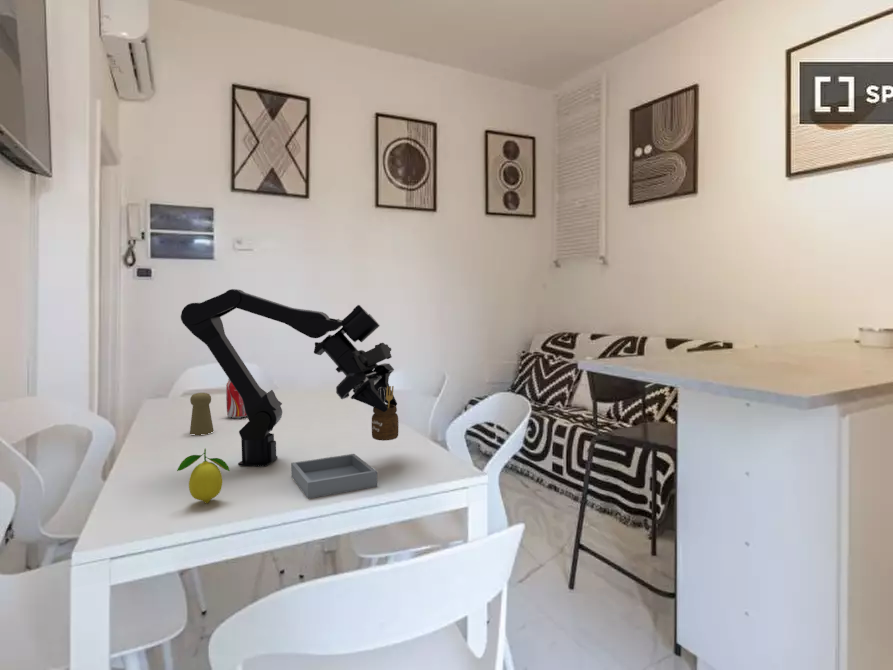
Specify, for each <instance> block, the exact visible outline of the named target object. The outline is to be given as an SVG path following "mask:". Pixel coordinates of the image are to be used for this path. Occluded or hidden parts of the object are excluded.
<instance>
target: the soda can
mask: <svg viewBox="0 0 893 670" xmlns="http://www.w3.org/2000/svg"><path fill="white" fill-rule="evenodd" d="M225 385H226V387H225V388H226V389H225V394H226V397H225V398H226V402H225V405H226V414H227V416H228V417H229V418H231V417H232V418H231V419H234V418H238V419H242V418H241V417H245V418H247V417H246V416H247V415H246V412H245V408H244V404H243V400H242V398H241V396H240V394H239V393H238V391H237V390H236V388H235V387H234V385H233V384H232V382H231V381H230V379H229V378H228V379H227V383H226V384H225Z"/></svg>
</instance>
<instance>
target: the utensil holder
mask: <svg viewBox="0 0 893 670" xmlns="http://www.w3.org/2000/svg"><path fill="white" fill-rule="evenodd" d="M389 386H390V387H389V395H388V386H387V391H386V400H388V404H387V403H385V404H386V406H387V407H388V410H387V411H386V412H383V411H381V410H379V409H377V408H374V407H372V408H373V409H372V412H373V414H372V416H371V437H372V439H374V440H377V441H382V442H383V441H393V440H396V439H397V438H398V437H399V416H398V414H397V412H398V408H397V405H396V406H395V405H391V404H390V400H392V399H393V395H394V388H395V387H394V385H392V386H391V385H389ZM380 388H382V387H380ZM384 388H385V387H384ZM384 388H383V389H384ZM385 389H386V388H385ZM378 390H379V389H378ZM380 390H381V389H380ZM391 391H392V393H391ZM390 393H391V395H390ZM380 396H381V393H380ZM384 396H385V392H384Z"/></svg>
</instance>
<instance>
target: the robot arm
mask: <svg viewBox="0 0 893 670" xmlns="http://www.w3.org/2000/svg"><path fill="white" fill-rule="evenodd" d="M236 309H239V310H242V311H245V312H248V313H251V314H255V315H256V316H261V317H264V318H267V319H271V320H273V321H277V322H279V323H283V324H285V325H287V326H289V327H291V328H292V329H294V330H295V331H297V332H299V333H301V334H303V335H305V336H306V337H309V338H311V339H318V338H319V339H320V338H322V337H324V336H326V335H327V334H328V333H329V332H335V331H336V332H335V333H334V334H328V335H327V336H326V337H324V339H323V340H322V341H319V342H317V341H316V342H314V350H313V354H315V355H319V356H322V354H324V353H326V355H327V356H328V357H329V358H330V360H331V361H333V363H334V364H335V365H336V366H337V367H336V368H335V371H337V373H341V372H342V373H343V375H345V377H344V378H343V379H342V380H341V381H340V382H339V383H338V384H337V386H336V388H335V390H336V391H335V393H336V395H337V396H338V397H339V399H341V400H345V399H348V398H349V397H350V399H351V400H356V401H358V402H360V403H363V404H366V405H368V406H370V407H372V408H373V407H374V408H377V409H379V410H381V411H383V412H386V411H387V410H388V407H387V406H386V404H388V400H386V391H387V386H388V395H389V387H390V386H391V385H390V384H389V380H390V379H389V378H390V376H391V374H392V373H393V372H394V370H395V369H394V367H393V366H392V365H391V364H390V363H381V362H383V361H385V360H389V359H391V358H392V357H393V356H392V354H391V352H392V347H390V346H389V344H385V343H384V342H379V344H375V345H374V347H373V348H371V349H369V350H367V351H365V350H363V349H360V350H359V349H357V347H356V346H355V345H354V344H353V343H352V342H351V341H353V342H354V343H356V342H357V341H359V342H360V343H363V342H364V341H365V340H366V339H367V338H368V337H369V336H370V335H371V334H373V333H374V332H375V331H376V330H377V329H378V328H380V326H381V325H380V324H379V323H378V322H377V320H376V319H375V318H374V317H373V316H372V315H371V314H370V313H368V312H367V310H365V309H364V308H363V307H362V306H361V305H360V304H357V305H356V306H355V307H354V308H353V309H352V311H351V312H349V314H347V316H345V317H344V318H342V319H340V318H338V319H337V318H336V319H335V318H330V317H329V315H328V314H327V313H325V312H323V311H320V310H319V311H317V310H311V309H303V308H296V307H291V306H288V305H284V304H282V303H279V302H275V301H273V300H270V299H266V298H263V297H260V296H256V295H254V294H250V293H247V292H244V290H243V289H242V290H241V289H236V288H232V289H228V290H226V291H225V292H224V293H221V294H219V295H216V296H214V297H211V298H209V299H206V300H204V301H202V302H190V303H188V304H186V306H184V307H183V309H182V310H181V314H180V321H181V323H182V325H184V327H186V328H187V330H189V332H190V333H191V334H192V335H194V337H196V338H197V339H198V340H199V341H201V342H202V343H203V344H205V345H206V346H207V348H208V350H209V351H210V352H211V354H212V356H213V357H214V358H215V361H217V363H218V364H219V366H220V367H221V369H222V371H223V372H224V373H225V376H226V377H227V378H228V379H230V381H231V382H232V384H233V385H234V387H235V388H236V390H237V391H238V393H239V394H240V396H241V398H242V400H243V404H244V408H245V412H246V415H247V417H246V418H247V419H248V422H247V423H245V425H244V426H243V427H242V428H241V429H240V430H239V431H238V434H239V436H240V439H241V441H240V442H241V461H239V462H238V463H237V466H248V467H266V466H268V465H269V464H271V463H273V462H274V461H276V460H277V459H278V458H279V456H278V455H277V441H276V440H275V433H271V432H272V431H273V429H274V427H276V425H277V424H278V423H279V422H280V420H281V418H282V417H283V408H282V405H283V402H281V401H279V399H278V398H277V395H276V393H275V391H274V390H273V389H270V390H269V391H265V390H264V389H263V388H261V387H260V385H259V383H257V381H256V379H255V377H254V376H253V375H252V373H251V371H250V370H249V369H248V367H247V365H246V364H245V362H244V361H243V360H242V358H241V357H240V355H239V354H238V352H237V350H236V349H235V346H233V345H232V343H231V341H230V340H229V338H228V337H227V335H226V332H225V328H224V325H223V321H222V317H223V316H225V315H227V314H229V313H230V312H232V311H234V310H236ZM337 330H338V331H337ZM347 336H348V337H347ZM349 339H351V340H349ZM378 363H380V364H378ZM380 387H382V388H380ZM384 387H385V388H386V389H385V388H384ZM383 388H384V389H383ZM378 389H379V390H378ZM380 389H381V390H380ZM351 391H352V392H353V394H352V395H351V396H350V392H351ZM384 392H385V396H384ZM380 393H381V396H380ZM391 393H392V390H391ZM391 393H390V395H391ZM390 404H391V405H395V406H396V407H397V405H398V402H397V400H396V398H395V396H394V394H393V399H392V400H390Z"/></svg>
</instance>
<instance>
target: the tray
mask: <svg viewBox="0 0 893 670" xmlns="http://www.w3.org/2000/svg"><path fill="white" fill-rule="evenodd" d="M290 467H291V468H290V471H291V472H290V473H291V474H290V475H291V478H292V480H293V479H294V480H293V481H294V482H295V484H296V485H297V486H298V488H299V489H300V490H301V491H302V493H303V494H304V496H305V497H306V498H307V499H308V500H309V499H314V498H318V497H325V496H330V495H331V496H332V495H336V494H341V493H343V494H344V493H346V492H355V491H358V490H363V489H368V488H369V489H370V488H374V487H375V488H376V487H378V471H377V470H376V469H374V468H373V466H371V465H370V464H369V463H367V462H366V461H364V460H363V459H362V458H360V457H359V456H358V455H356V454H355V453H351V454H343V455H336V456H330V457H321V458H316V459H309V460H303V461H294V462H291V463H290Z"/></svg>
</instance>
